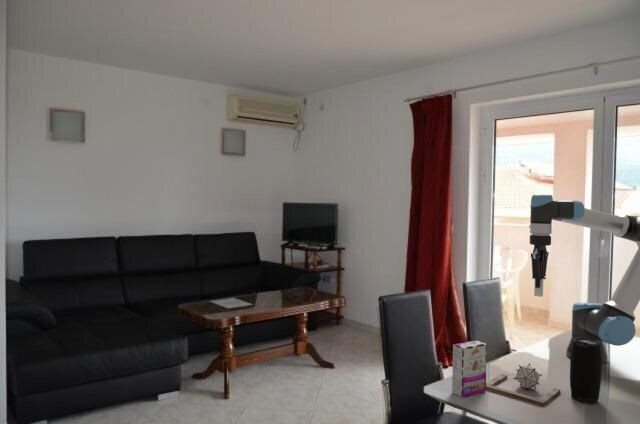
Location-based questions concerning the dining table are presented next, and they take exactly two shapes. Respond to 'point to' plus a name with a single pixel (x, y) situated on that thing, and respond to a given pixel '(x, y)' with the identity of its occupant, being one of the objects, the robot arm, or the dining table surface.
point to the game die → (527, 377)
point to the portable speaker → (585, 370)
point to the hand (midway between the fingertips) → (538, 295)
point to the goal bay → (541, 402)
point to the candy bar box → (469, 368)
